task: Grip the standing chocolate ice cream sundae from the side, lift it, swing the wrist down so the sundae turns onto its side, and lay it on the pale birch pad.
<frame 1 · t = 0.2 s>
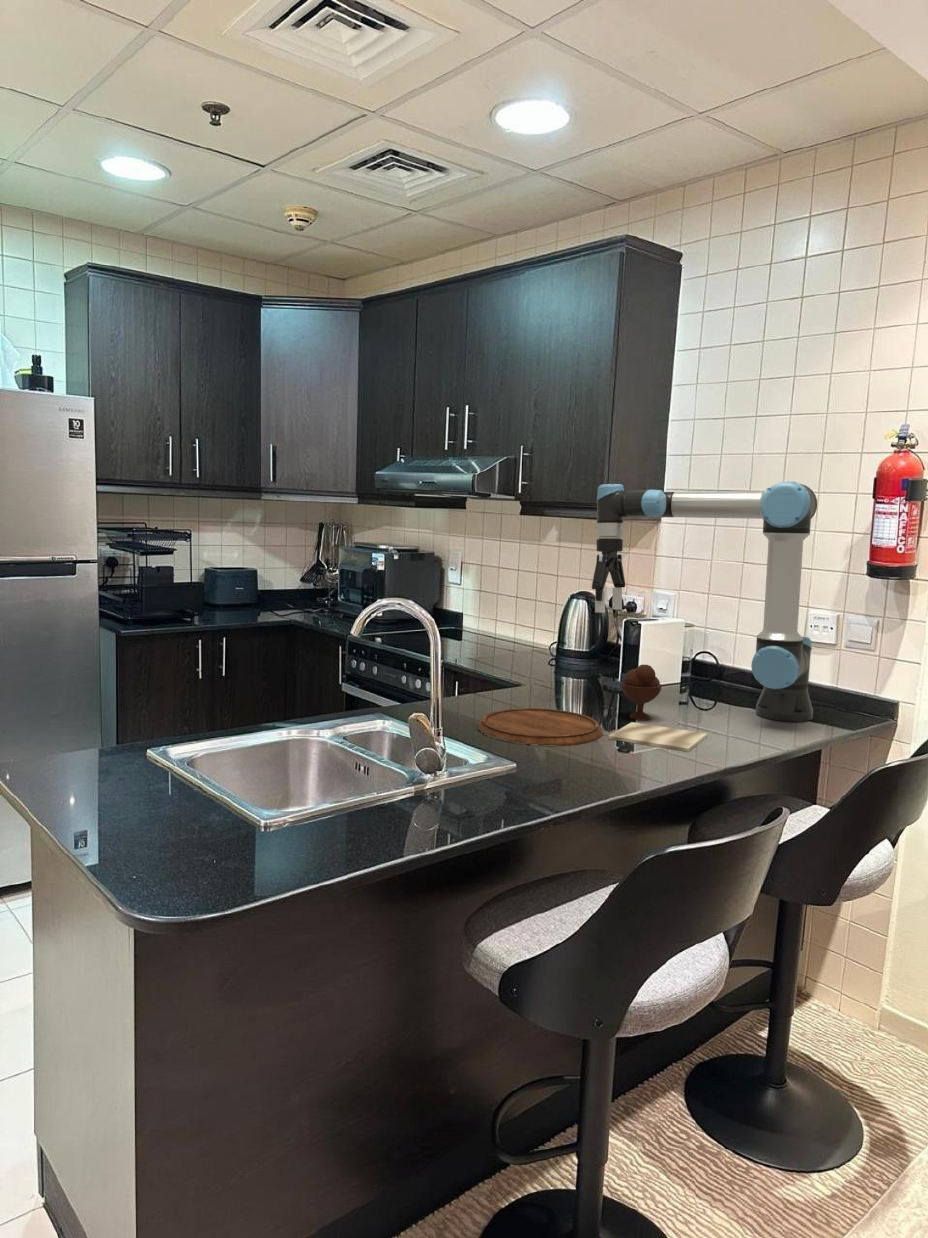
hand: (608, 611, 254), 27 cm above the table, tool pointing down, fingers open, 13 cm apart
birch pad: (658, 737, 217), on the table
cutting board: (539, 731, 223), on the table
chocolate ice cream sundae: (639, 718, 238), on the table
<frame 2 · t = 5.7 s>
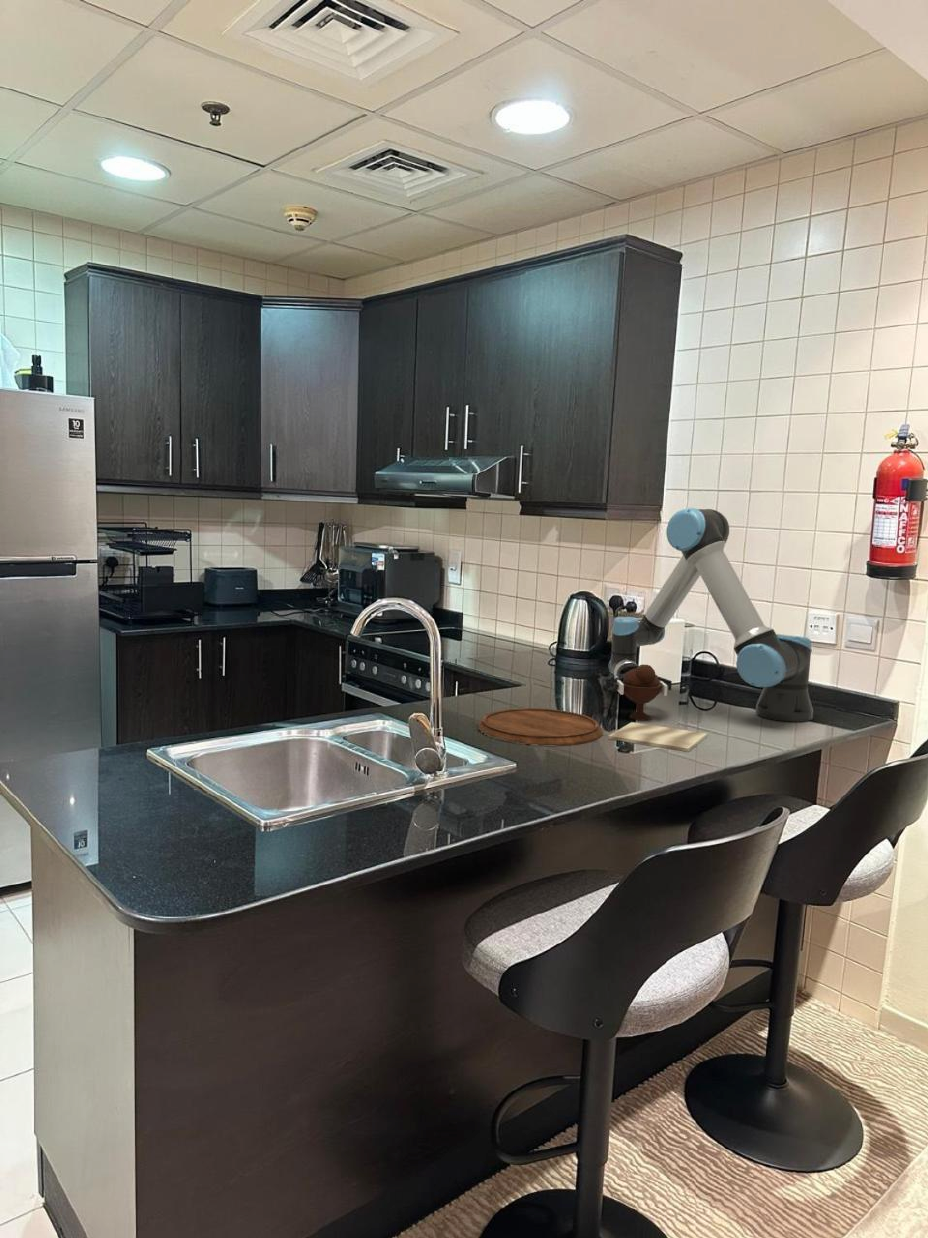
hand: (644, 690, 233), 9 cm above the table, tool horizontal, fingers closed on chocolate ice cream sundae, 11 cm apart
chocolate ice cream sundae: (639, 718, 238), on the table, touching gripper
everything else where it was.
when the fingers open (4 cm above the table, at t = 13.2 s): chocolate ice cream sundae drops 3 cm, resting on birch pad.
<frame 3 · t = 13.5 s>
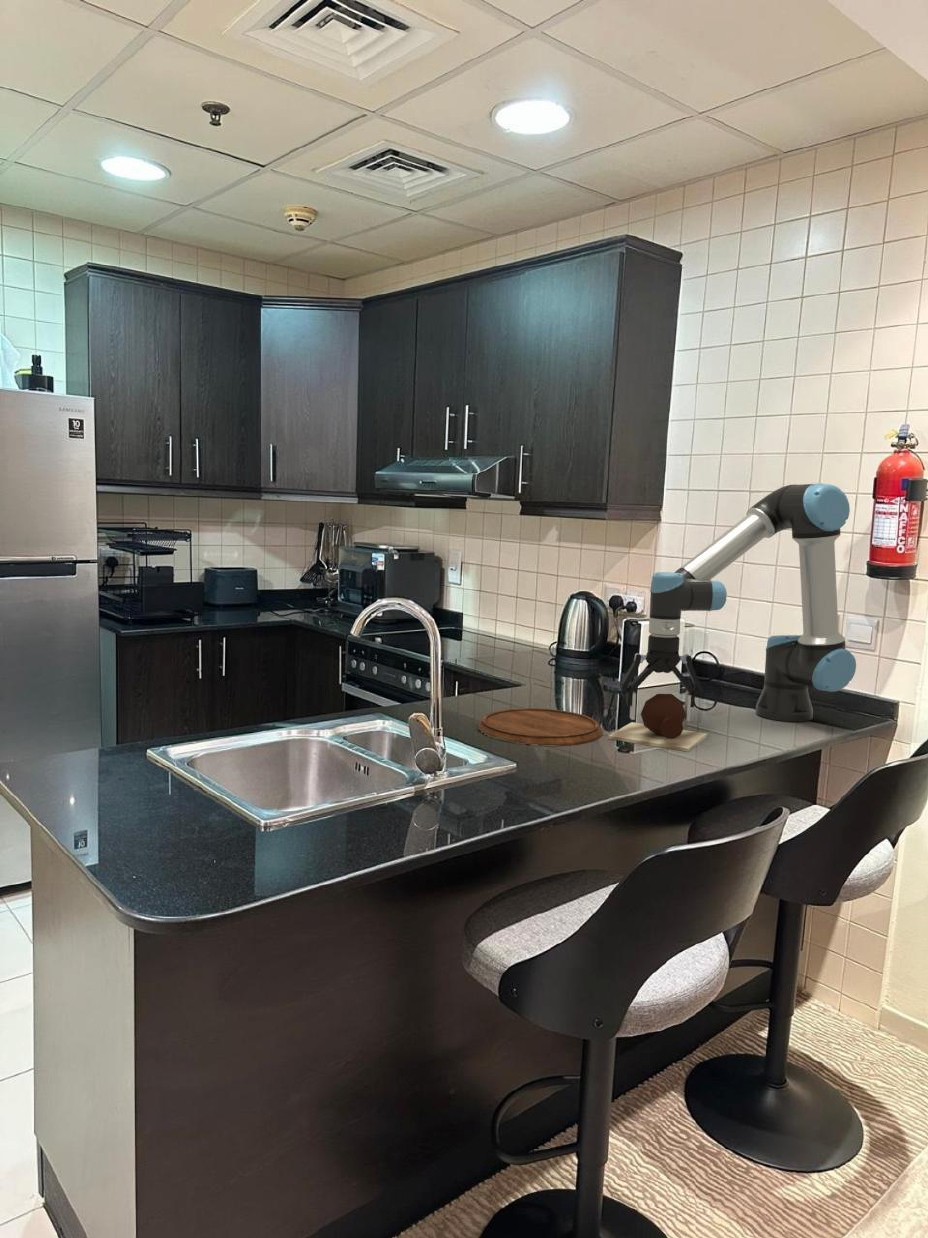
hand: (659, 719, 217), 5 cm above the table, tool pointing down, fingers open, 13 cm apart
chocolate ice cream sundae: (671, 728, 208), point 5 cm above the table, touching birch pad, gripper
everything else where it was.
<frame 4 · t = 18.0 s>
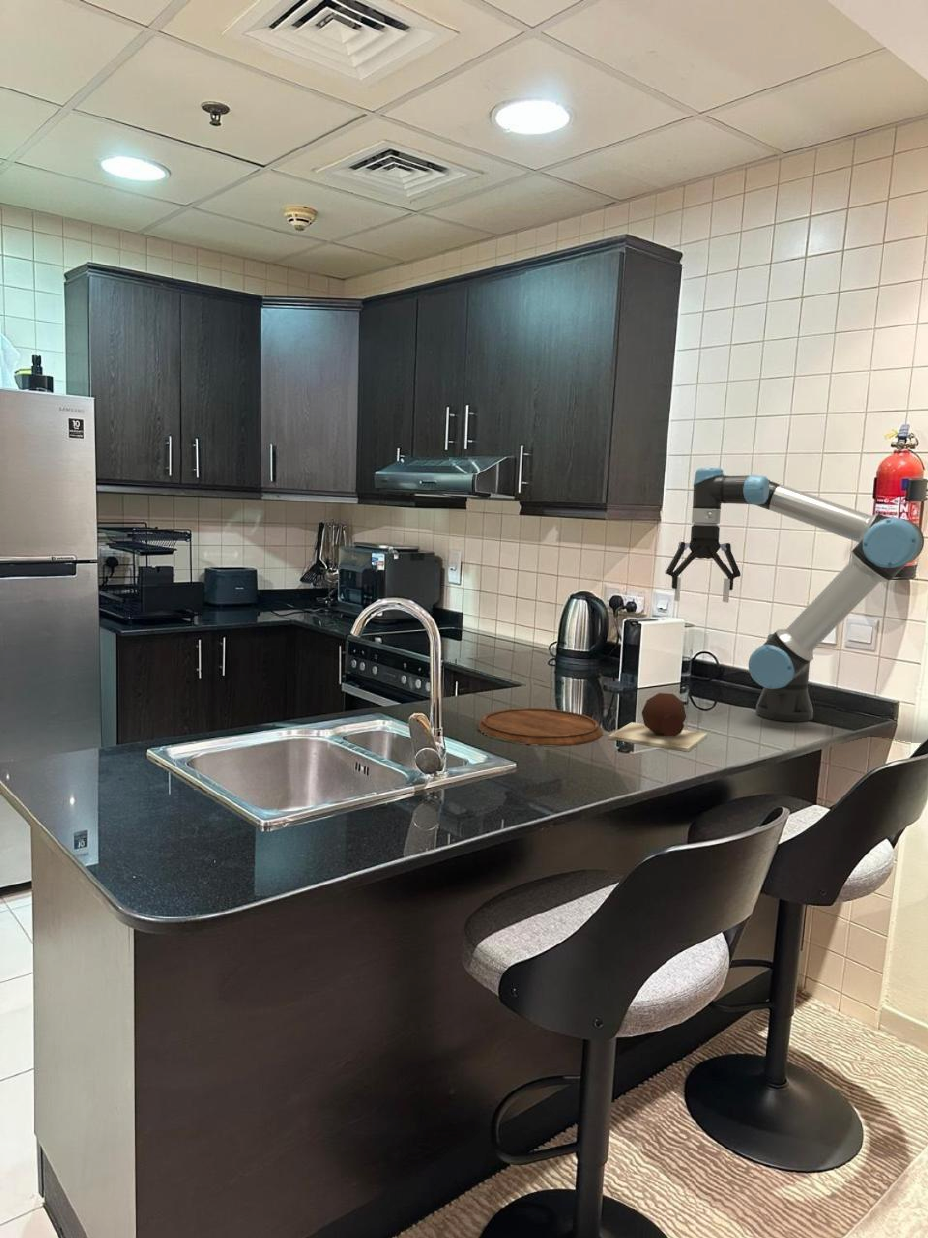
hand: (701, 601, 242), 32 cm above the table, tool pointing down, fingers open, 13 cm apart
chocolate ice cream sundae: (672, 726, 208), point 5 cm above the table, touching birch pad
everything else where it was.
at the end: chocolate ice cream sundae tilted 86°; chocolate ice cream sundae 9.2 cm from the birch pad (horizontally); the gripper is holding nothing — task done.
